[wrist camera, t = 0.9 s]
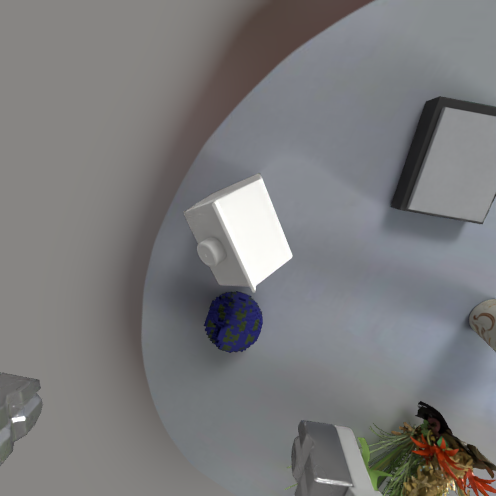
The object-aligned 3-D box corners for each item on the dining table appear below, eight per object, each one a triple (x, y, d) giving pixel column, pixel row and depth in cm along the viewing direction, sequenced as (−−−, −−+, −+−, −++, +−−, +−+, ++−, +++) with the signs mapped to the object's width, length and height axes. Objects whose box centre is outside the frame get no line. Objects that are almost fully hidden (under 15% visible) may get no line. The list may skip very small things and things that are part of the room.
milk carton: (259, 172, 35) (263, 181, 17) (278, 220, 37) (300, 276, 18) (211, 193, 36) (165, 223, 18) (232, 239, 38) (210, 308, 20)
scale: (426, 100, 31) (444, 93, 29) (513, 116, 32) (539, 111, 29) (390, 206, 36) (402, 210, 33) (467, 220, 36) (486, 225, 33)
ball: (249, 335, 42) (248, 370, 35) (204, 321, 42) (194, 353, 35) (266, 294, 40) (269, 323, 33) (220, 278, 40) (211, 304, 32)
